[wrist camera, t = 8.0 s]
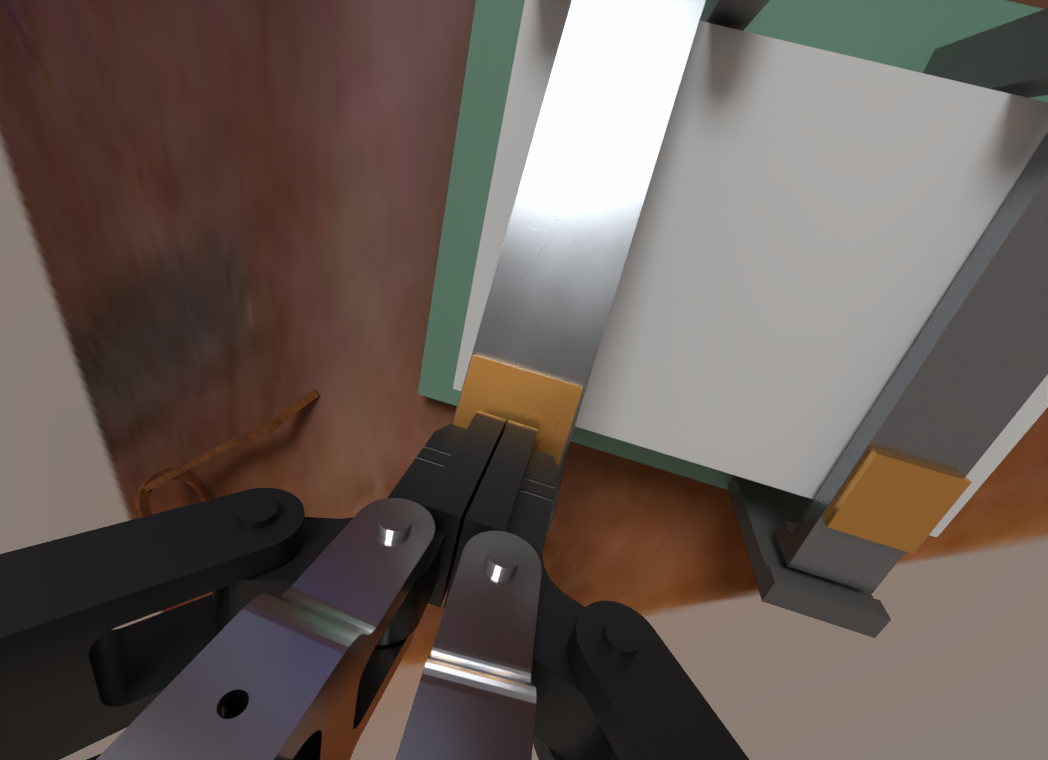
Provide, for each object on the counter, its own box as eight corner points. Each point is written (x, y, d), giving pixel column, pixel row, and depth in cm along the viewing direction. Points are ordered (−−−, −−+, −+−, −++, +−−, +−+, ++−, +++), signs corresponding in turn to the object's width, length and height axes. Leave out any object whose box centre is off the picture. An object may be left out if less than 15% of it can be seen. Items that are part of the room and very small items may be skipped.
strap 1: (598, -49, 13) (603, -123, 11) (709, -23, 12) (735, -95, 10) (434, 525, 14) (411, 553, 12) (531, 557, 14) (524, 591, 12)
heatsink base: (500, -98, 17) (404, -292, 10) (1235, 65, 15) (1797, -23, 8) (425, 385, 25) (345, 473, 18) (881, 526, 24) (991, 685, 16)
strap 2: (1087, 35, 11) (1173, 10, 10) (1220, 64, 11) (1333, 45, 9) (775, 535, 19) (791, 574, 17) (853, 560, 18) (877, 602, 17)
